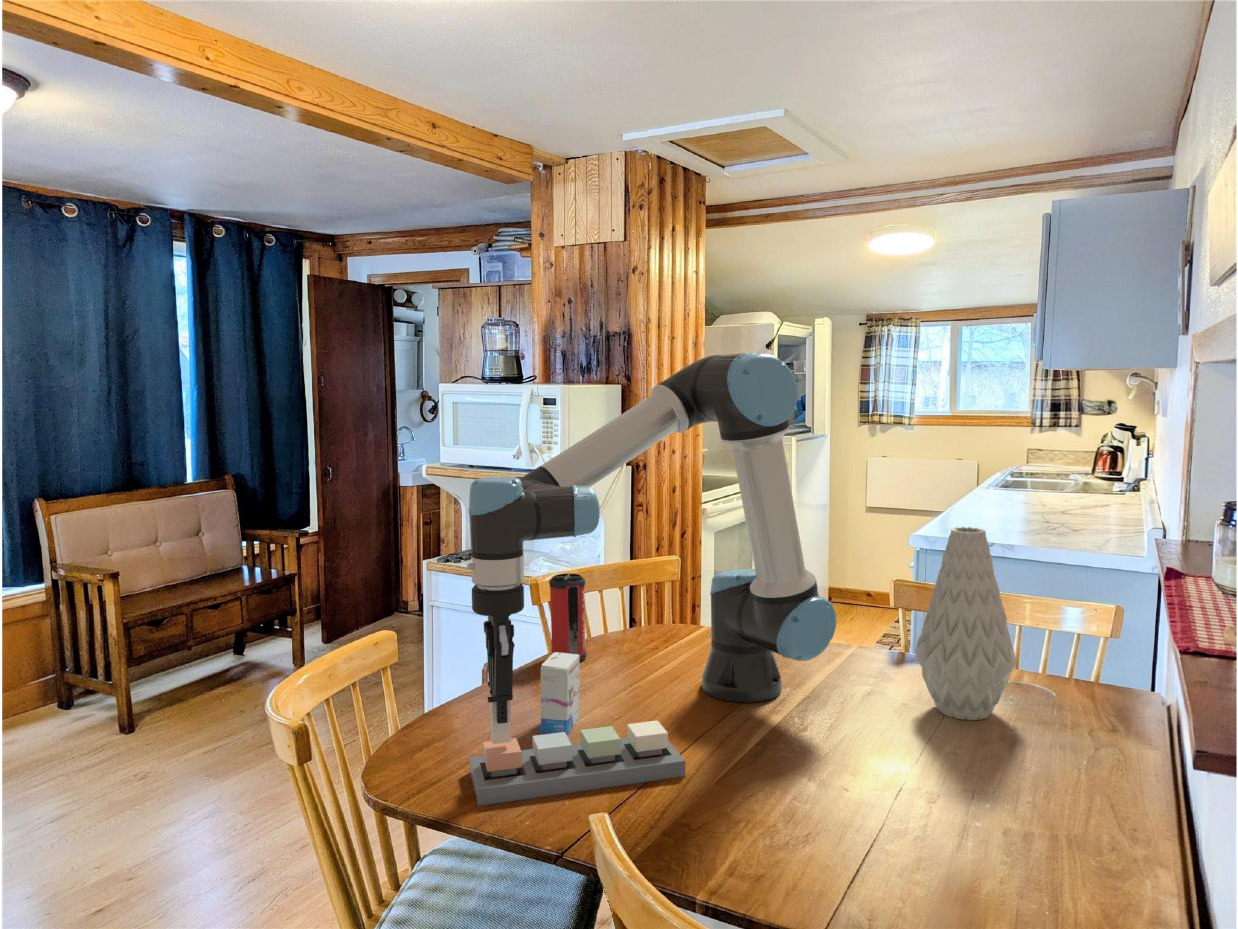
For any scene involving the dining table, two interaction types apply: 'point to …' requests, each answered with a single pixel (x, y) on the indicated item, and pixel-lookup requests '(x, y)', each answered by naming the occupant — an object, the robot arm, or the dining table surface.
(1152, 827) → the dining table surface
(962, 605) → the vase
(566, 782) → the keypad base
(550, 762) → the key bluegrey
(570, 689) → the ink box
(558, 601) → the speaker
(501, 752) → the key terracotta
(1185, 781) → the dining table surface
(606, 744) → the key sage
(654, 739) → the key cream
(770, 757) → the dining table surface
